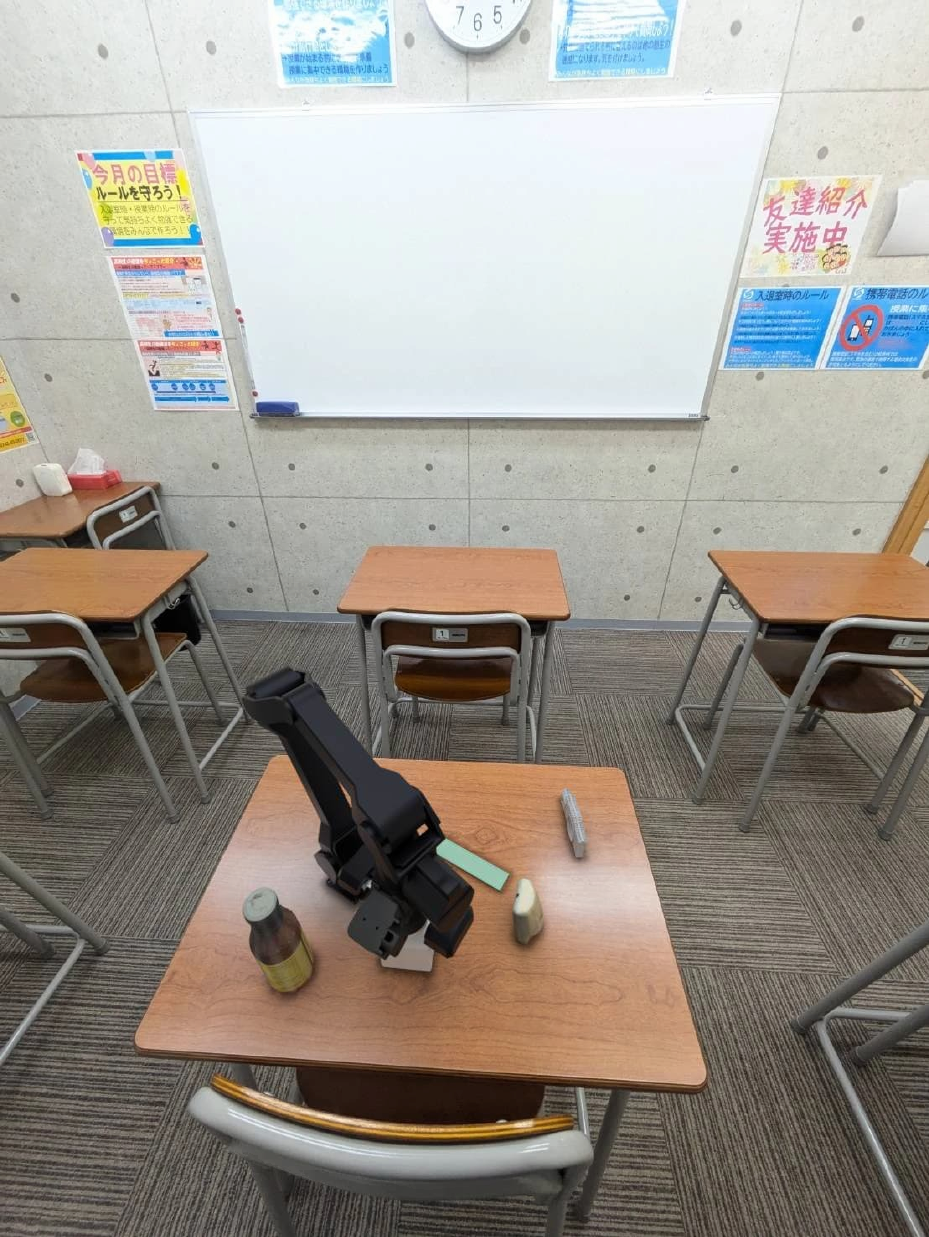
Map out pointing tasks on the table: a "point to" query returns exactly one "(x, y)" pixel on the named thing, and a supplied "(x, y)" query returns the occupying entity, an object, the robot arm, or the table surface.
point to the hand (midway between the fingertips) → (408, 927)
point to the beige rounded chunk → (527, 911)
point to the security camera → (413, 947)
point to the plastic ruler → (472, 864)
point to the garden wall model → (574, 822)
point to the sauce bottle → (278, 942)
